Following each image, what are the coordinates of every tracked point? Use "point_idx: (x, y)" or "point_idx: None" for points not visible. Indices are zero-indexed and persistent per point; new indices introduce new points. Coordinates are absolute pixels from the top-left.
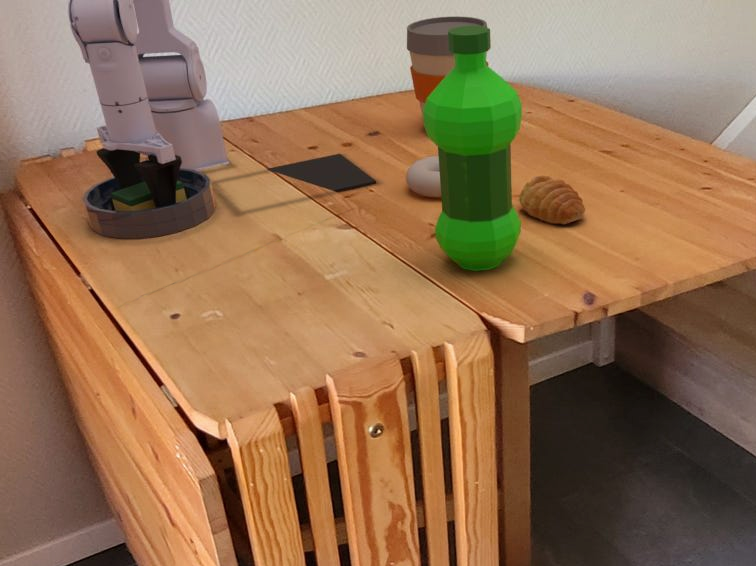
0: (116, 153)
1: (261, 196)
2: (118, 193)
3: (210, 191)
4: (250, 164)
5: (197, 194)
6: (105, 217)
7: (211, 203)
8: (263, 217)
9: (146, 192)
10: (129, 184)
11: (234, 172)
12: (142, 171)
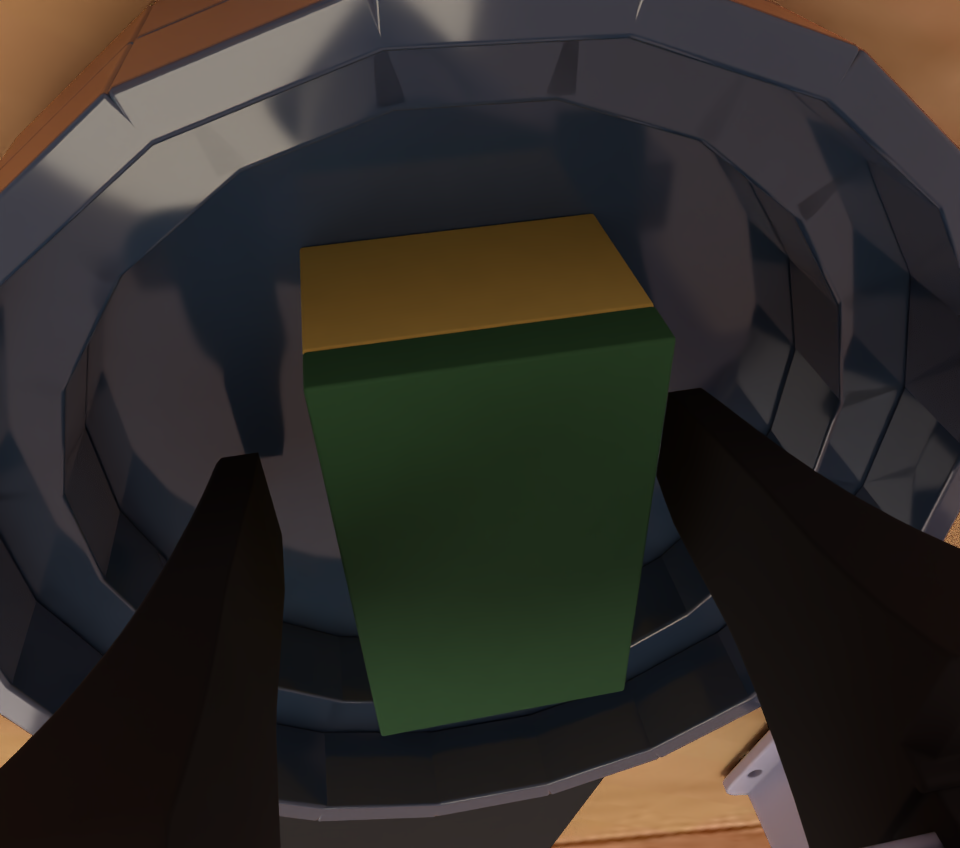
0: (896, 738)
1: None
2: (593, 385)
3: None
4: (668, 818)
5: None
6: (231, 21)
7: None
8: (12, 755)
9: (392, 547)
10: (722, 509)
11: (656, 777)
12: (23, 820)
